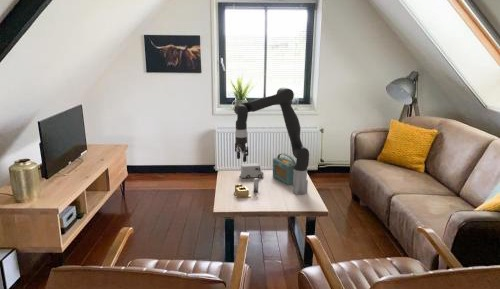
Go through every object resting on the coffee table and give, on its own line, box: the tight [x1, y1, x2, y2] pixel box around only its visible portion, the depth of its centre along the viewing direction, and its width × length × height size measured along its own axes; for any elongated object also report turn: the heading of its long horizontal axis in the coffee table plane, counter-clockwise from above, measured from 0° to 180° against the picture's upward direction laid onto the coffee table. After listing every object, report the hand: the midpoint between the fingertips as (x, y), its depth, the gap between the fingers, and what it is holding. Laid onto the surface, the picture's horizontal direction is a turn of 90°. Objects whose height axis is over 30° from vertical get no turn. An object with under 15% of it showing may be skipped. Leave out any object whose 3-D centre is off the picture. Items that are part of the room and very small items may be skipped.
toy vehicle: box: [239, 162, 264, 179], centre depth 292 cm, size 9×18×10 cm, turn 102°
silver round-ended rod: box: [253, 177, 260, 194], centre depth 258 cm, size 3×3×10 cm
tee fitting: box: [233, 183, 252, 200], centre depth 254 cm, size 9×13×5 cm
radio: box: [272, 153, 296, 186], centre depth 284 cm, size 26×11×20 cm, turn 25°
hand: (241, 160), depth 240 cm, fingers open, 8 cm apart
